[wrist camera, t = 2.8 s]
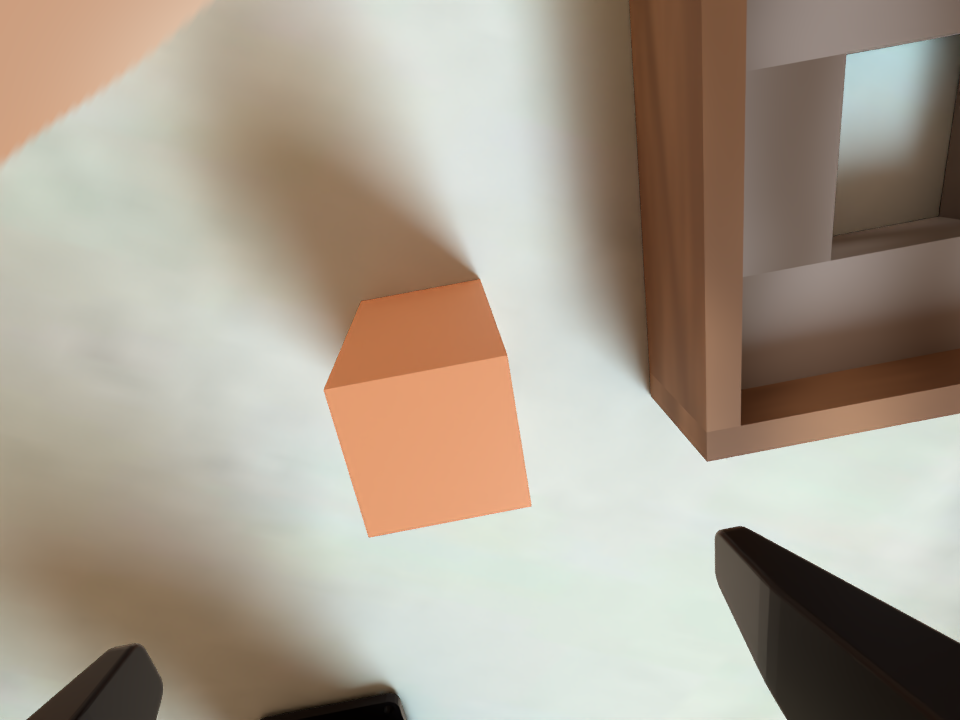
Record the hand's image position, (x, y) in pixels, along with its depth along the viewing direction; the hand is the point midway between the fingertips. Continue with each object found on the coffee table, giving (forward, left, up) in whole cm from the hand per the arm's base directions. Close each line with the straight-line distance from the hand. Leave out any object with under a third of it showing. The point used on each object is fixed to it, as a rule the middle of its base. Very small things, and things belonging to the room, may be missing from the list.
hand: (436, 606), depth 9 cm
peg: (0, 0, -11) cm, 11 cm away
